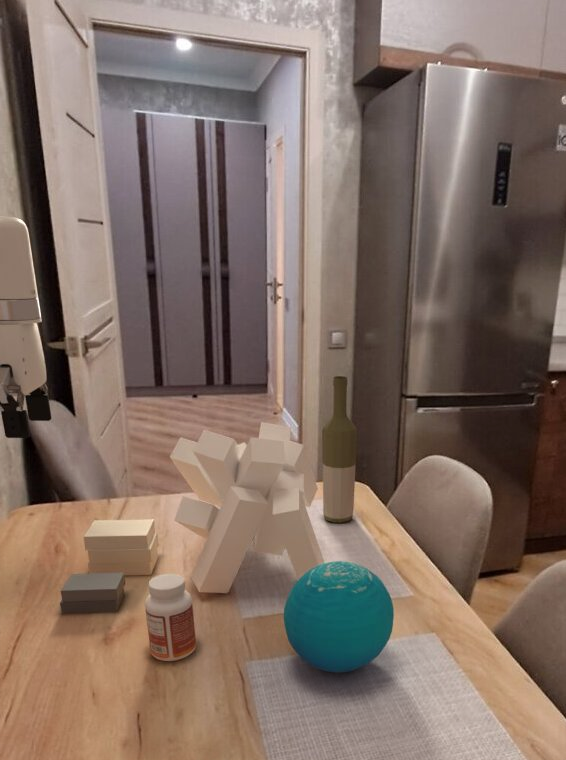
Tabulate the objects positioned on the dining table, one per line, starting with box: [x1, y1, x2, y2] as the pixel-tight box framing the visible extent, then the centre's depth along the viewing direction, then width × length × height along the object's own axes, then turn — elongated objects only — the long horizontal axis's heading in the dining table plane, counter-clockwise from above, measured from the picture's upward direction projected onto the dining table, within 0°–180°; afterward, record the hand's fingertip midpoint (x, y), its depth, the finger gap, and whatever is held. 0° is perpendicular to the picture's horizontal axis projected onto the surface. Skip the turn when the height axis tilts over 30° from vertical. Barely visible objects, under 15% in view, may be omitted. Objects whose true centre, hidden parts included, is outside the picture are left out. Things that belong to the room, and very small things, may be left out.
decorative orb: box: [283, 560, 395, 674], centre depth 91 cm, size 15×15×15 cm
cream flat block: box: [83, 518, 156, 551], centre depth 115 cm, size 10×7×2 cm
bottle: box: [321, 375, 358, 524], centre depth 136 cm, size 7×7×30 cm
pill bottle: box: [144, 573, 197, 662], centre depth 92 cm, size 6×6×11 cm
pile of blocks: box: [169, 421, 325, 594], centre depth 115 cm, size 35×30×35 cm
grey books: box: [59, 573, 126, 615], centre depth 104 cm, size 8×6×4 cm
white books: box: [87, 532, 159, 577], centre depth 116 cm, size 10×7×5 cm
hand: (29, 428), depth 101 cm, fingers open, 9 cm apart
